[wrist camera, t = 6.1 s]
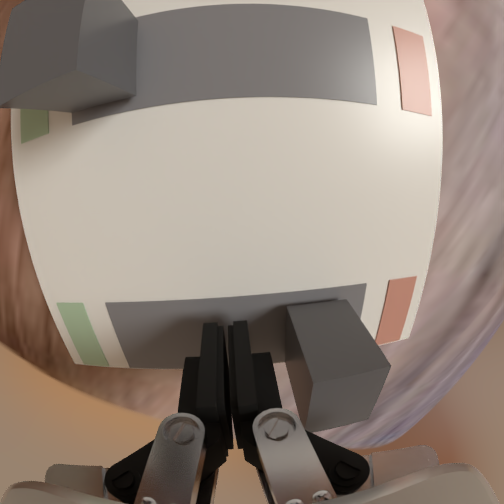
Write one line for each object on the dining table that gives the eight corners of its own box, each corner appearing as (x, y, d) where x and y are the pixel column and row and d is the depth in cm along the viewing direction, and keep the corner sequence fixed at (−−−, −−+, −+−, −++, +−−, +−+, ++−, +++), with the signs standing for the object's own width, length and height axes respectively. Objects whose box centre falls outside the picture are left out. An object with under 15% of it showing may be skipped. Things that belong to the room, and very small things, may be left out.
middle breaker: (138, 21, 6) (93, -34, 2) (136, 96, 7) (76, 69, 4) (75, 40, 6) (12, 8, 2) (72, 112, 7) (-4, 108, 3)
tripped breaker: (346, 299, 11) (391, 365, 7) (337, 352, 12) (368, 418, 8) (286, 306, 11) (313, 383, 7) (284, 360, 12) (303, 434, 8)
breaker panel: (369, -78, 5) (382, -93, 3) (392, 318, 15) (409, 338, 13) (72, -63, 3) (60, -76, 2) (87, 341, 13) (74, 364, 11)
